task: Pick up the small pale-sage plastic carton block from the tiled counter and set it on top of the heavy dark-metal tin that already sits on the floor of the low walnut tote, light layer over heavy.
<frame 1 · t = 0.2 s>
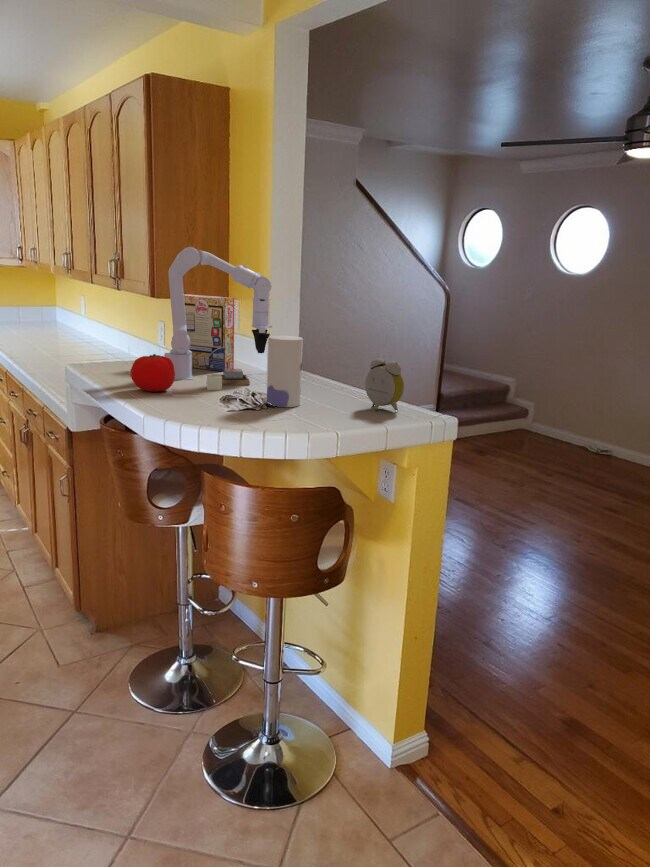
hand: (259, 351, 233), 10 cm above the worktop, fingers open, 7 cm apart
cereal box: (206, 369, 252), on the worktop
walnut tote: (229, 383, 226), on the worktop
container: (283, 404, 199), on the worktop
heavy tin: (232, 382, 226), resting on walnut tote
alarm clock: (380, 410, 198), on the worktop
sage carton: (214, 390, 215), on the worktop
tomato: (153, 391, 208), on the worktop
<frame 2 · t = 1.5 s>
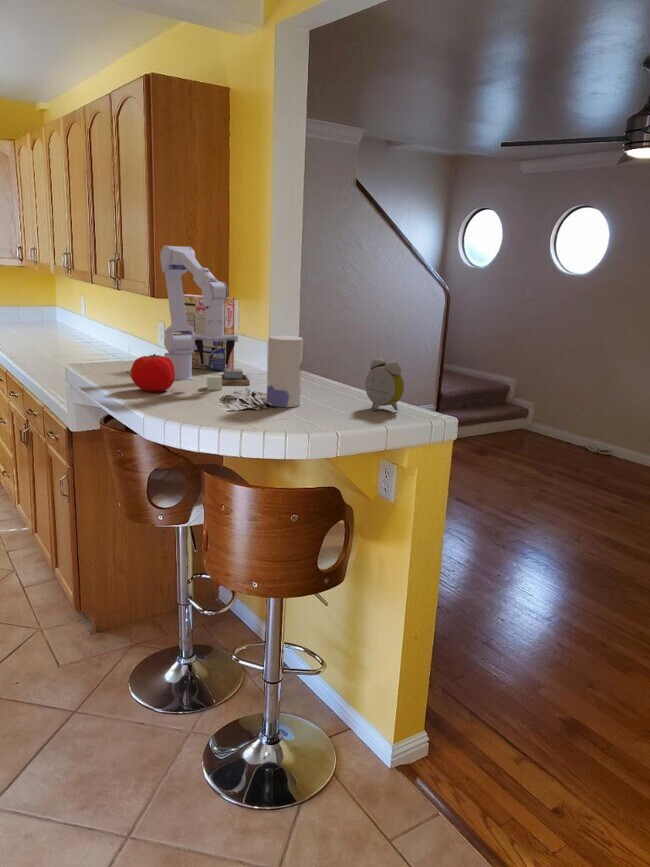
hand: (214, 364, 212), 8 cm above the worktop, fingers open, 7 cm apart
nothing on the worktop moved.
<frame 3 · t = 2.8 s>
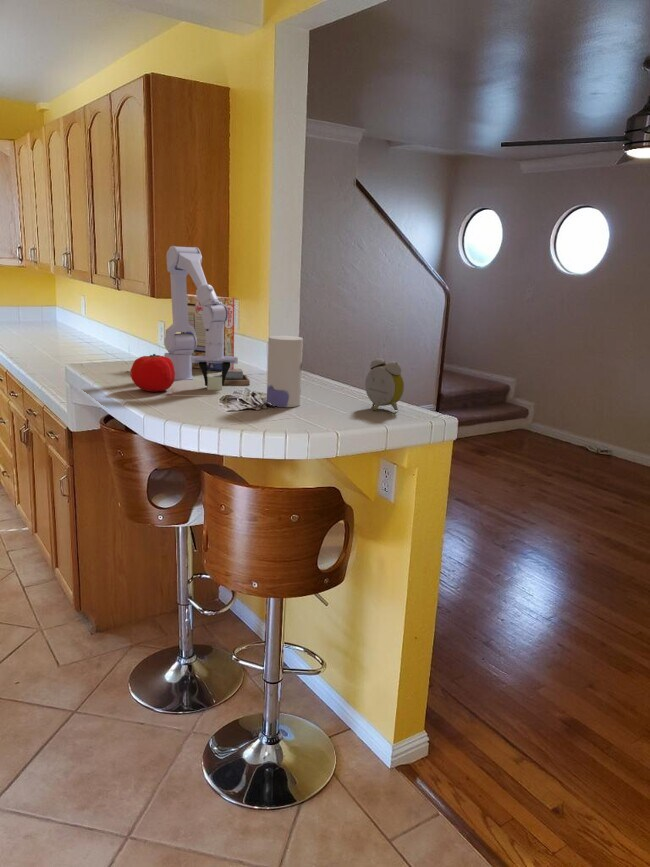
hand: (214, 385, 214), 1 cm above the worktop, fingers closed on sage carton, 4 cm apart
sage carton: (214, 389, 215), on the worktop, touching gripper
everything else where it was.
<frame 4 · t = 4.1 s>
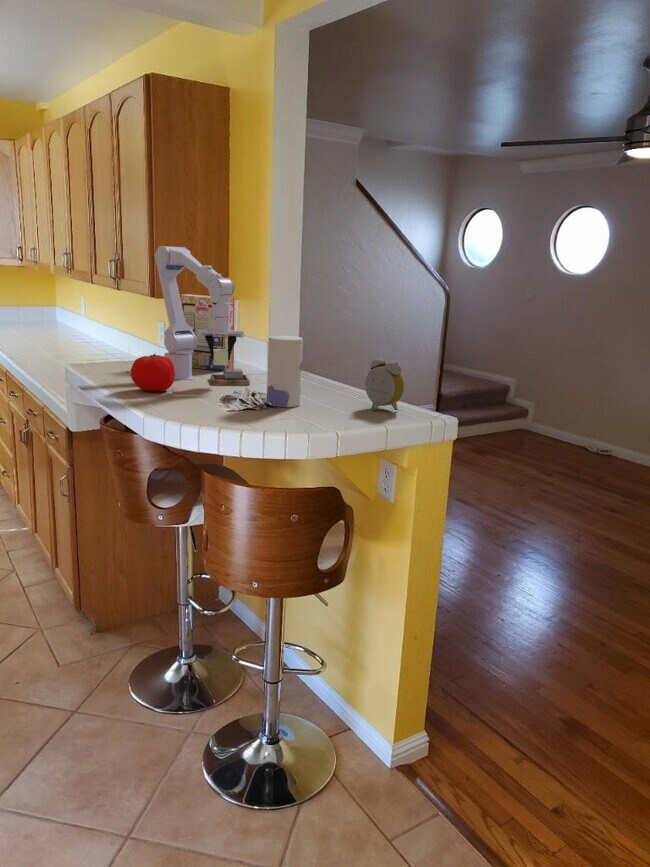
hand: (220, 359, 216), 9 cm above the worktop, fingers closed on sage carton, 4 cm apart
sage carton: (220, 364, 216), point 8 cm above the worktop, touching gripper
everything else where it was.
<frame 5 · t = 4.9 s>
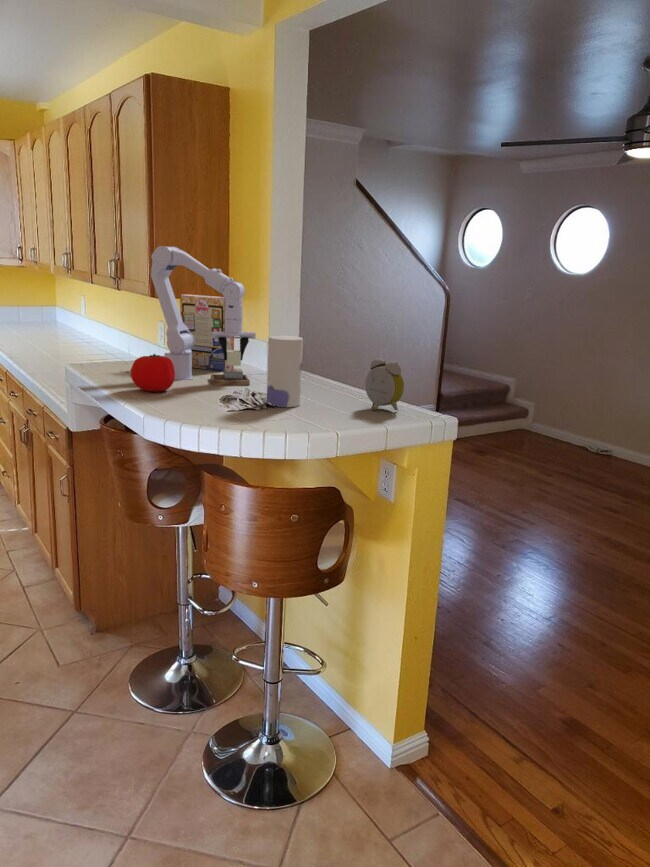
hand: (233, 359, 224), 8 cm above the worktop, fingers closed on sage carton, 4 cm apart
sage carton: (233, 364, 225), point 6 cm above the worktop, touching gripper
everything else where it was.
when the fingers open (7 cm above the worktop, at t = 5.5 s): sage carton drops 1 cm, resting on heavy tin.
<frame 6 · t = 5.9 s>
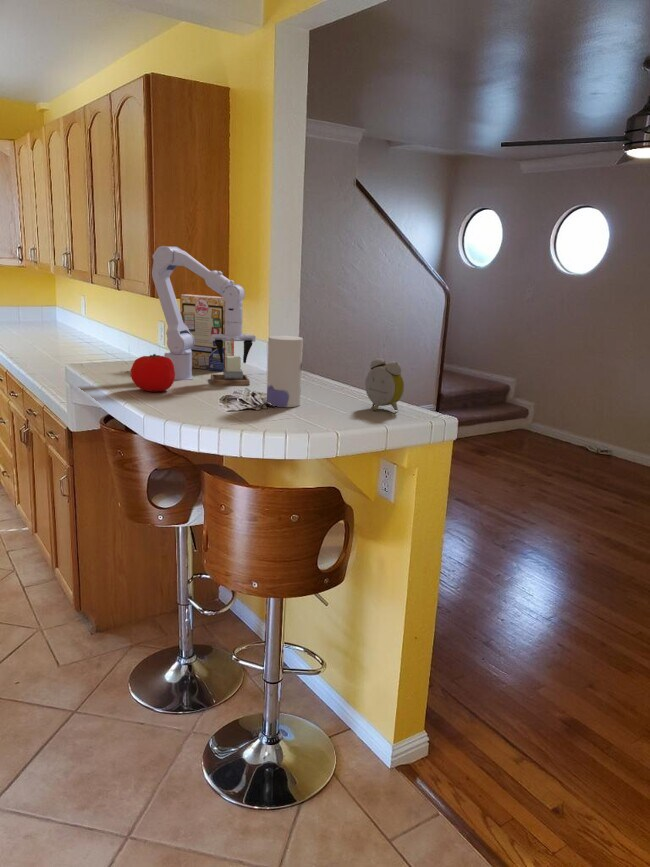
hand: (233, 362, 225), 7 cm above the worktop, fingers open, 7 cm apart
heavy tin: (232, 382, 226), resting on walnut tote, touching sage carton
sage carton: (233, 370, 225), point 5 cm above the worktop, touching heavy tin
everything else where it was.
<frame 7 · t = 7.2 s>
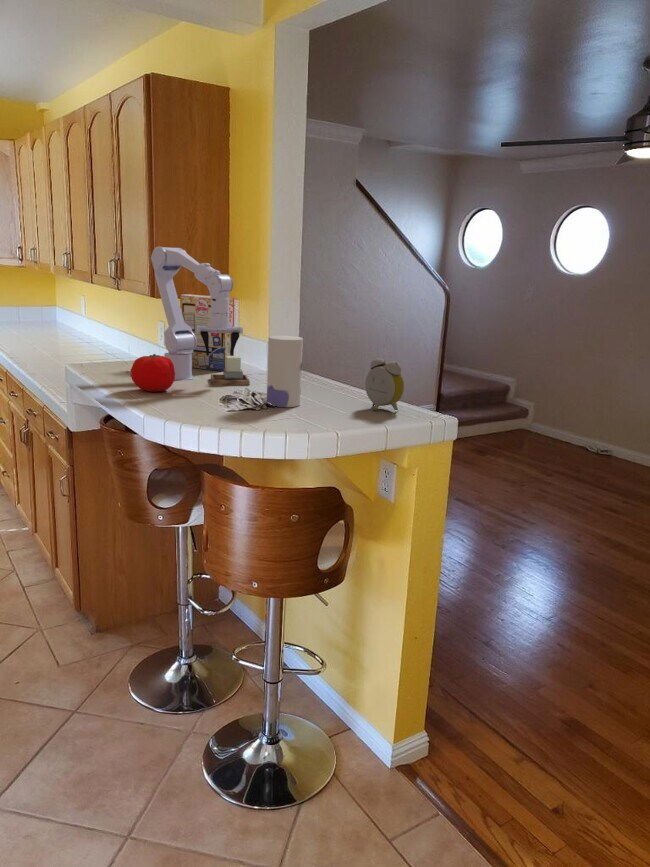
hand: (219, 355, 217), 10 cm above the worktop, fingers open, 7 cm apart
nothing on the worktop moved.
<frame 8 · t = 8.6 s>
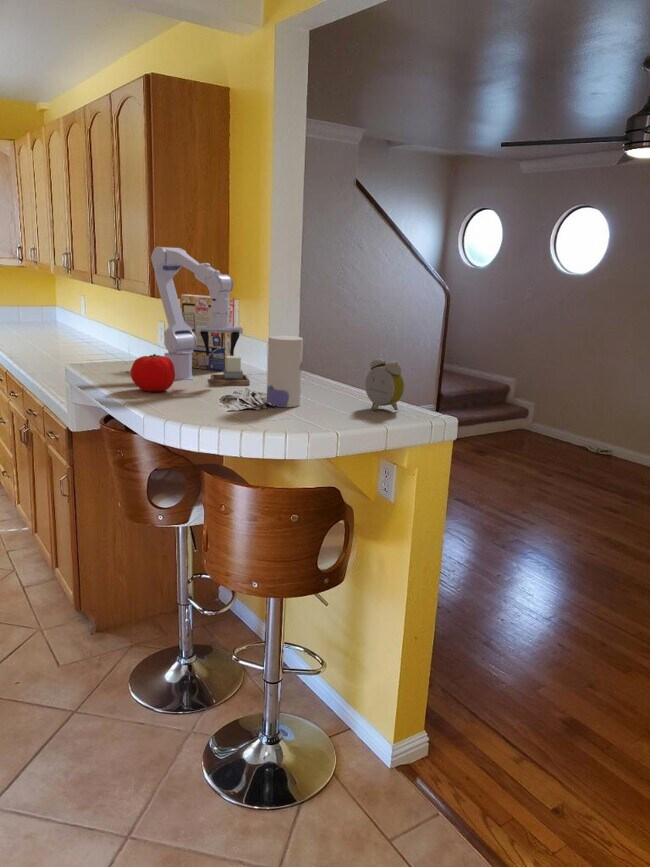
hand: (219, 355, 217), 10 cm above the worktop, fingers open, 7 cm apart
nothing on the worktop moved.
at the end: sage carton 0.1 cm off-centre on the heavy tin, point 4.1 cm above the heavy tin's base; sage carton tilted 0°; the gripper is holding nothing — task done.
